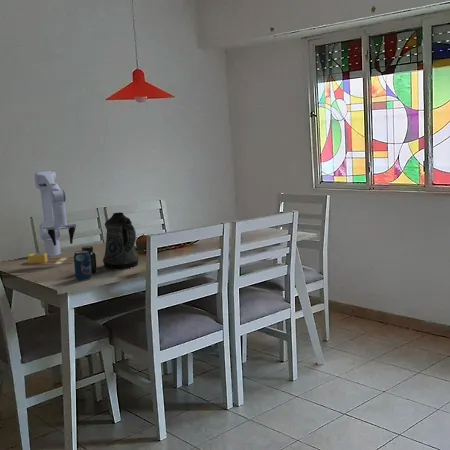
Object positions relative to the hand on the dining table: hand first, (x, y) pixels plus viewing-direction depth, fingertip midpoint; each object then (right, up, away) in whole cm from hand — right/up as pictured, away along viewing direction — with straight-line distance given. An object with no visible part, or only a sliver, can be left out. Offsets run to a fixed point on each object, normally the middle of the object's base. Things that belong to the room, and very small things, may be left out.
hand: (63, 244), depth 290 cm
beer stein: (+30, -10, -4) cm, 32 cm away
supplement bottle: (+16, -12, -15) cm, 25 cm away
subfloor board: (-8, -10, +9) cm, 15 cm away
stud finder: (-14, -9, +8) cm, 19 cm away
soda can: (+16, -14, -26) cm, 34 cm away
